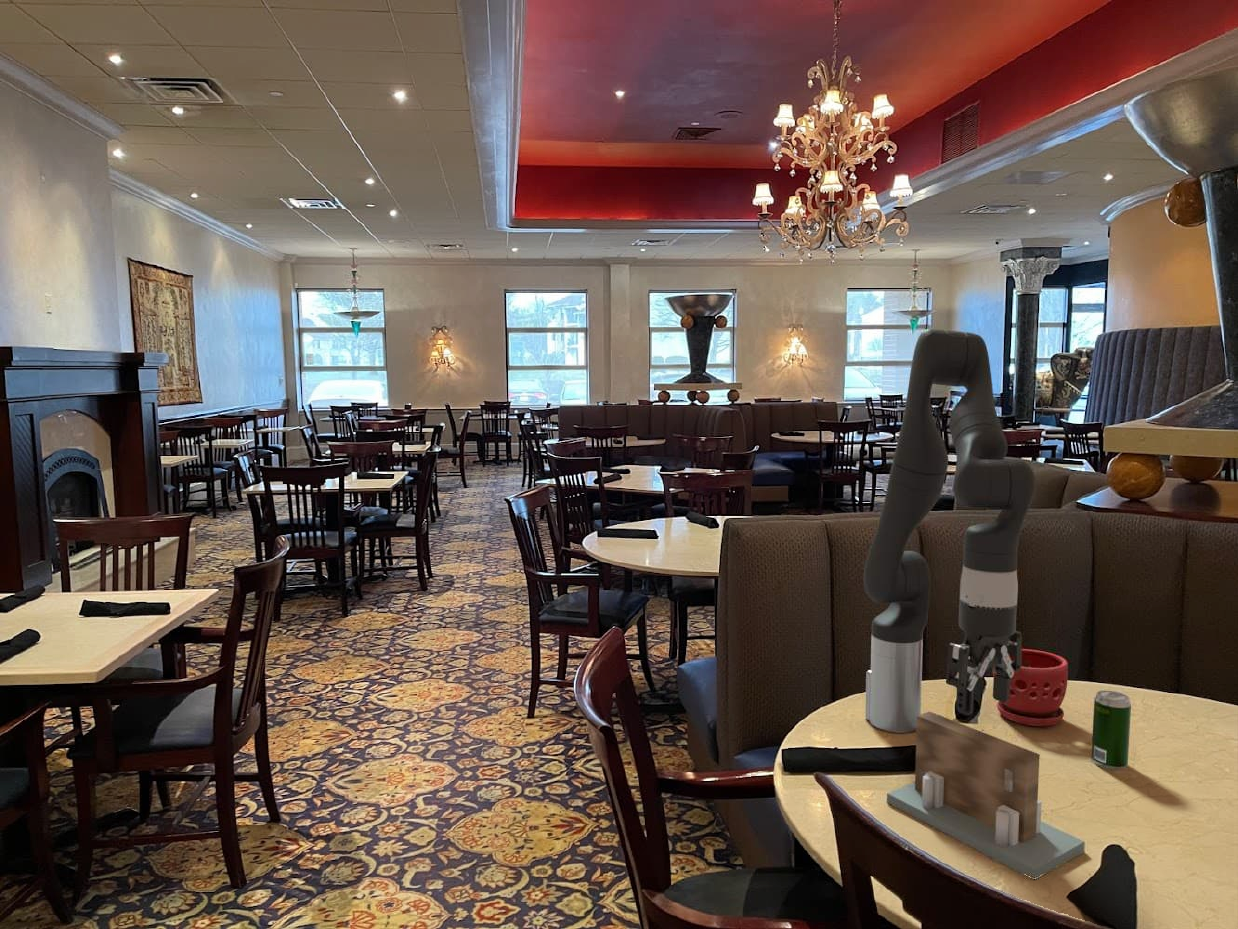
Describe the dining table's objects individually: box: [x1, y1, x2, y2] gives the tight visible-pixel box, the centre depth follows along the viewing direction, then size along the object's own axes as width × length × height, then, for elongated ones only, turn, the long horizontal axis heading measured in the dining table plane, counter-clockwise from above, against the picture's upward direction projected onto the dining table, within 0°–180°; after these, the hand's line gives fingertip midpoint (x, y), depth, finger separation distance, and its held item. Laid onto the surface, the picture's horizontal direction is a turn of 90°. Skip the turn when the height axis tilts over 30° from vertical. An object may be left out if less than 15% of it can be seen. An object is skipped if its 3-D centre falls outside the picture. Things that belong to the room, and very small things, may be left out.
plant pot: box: [992, 648, 1069, 727], centre depth 160 cm, size 13×13×12 cm
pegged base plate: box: [886, 771, 1086, 879], centre depth 121 cm, size 24×12×6 cm, turn 32°
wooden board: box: [914, 711, 1041, 843], centre depth 122 cm, size 18×3×12 cm, turn 32°
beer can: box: [1091, 690, 1132, 771], centre depth 140 cm, size 5×5×12 cm
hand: (982, 707), depth 120 cm, fingers open, 8 cm apart
